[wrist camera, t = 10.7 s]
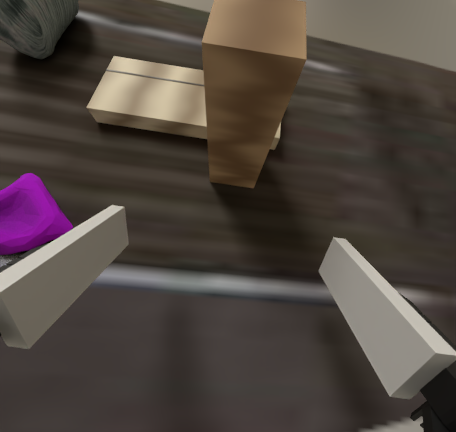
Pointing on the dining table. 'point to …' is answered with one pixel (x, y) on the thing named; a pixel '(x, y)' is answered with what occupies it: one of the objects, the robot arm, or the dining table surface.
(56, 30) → the spool
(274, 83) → the tan angular block
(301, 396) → the dining table surface
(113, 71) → the board
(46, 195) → the cloth
